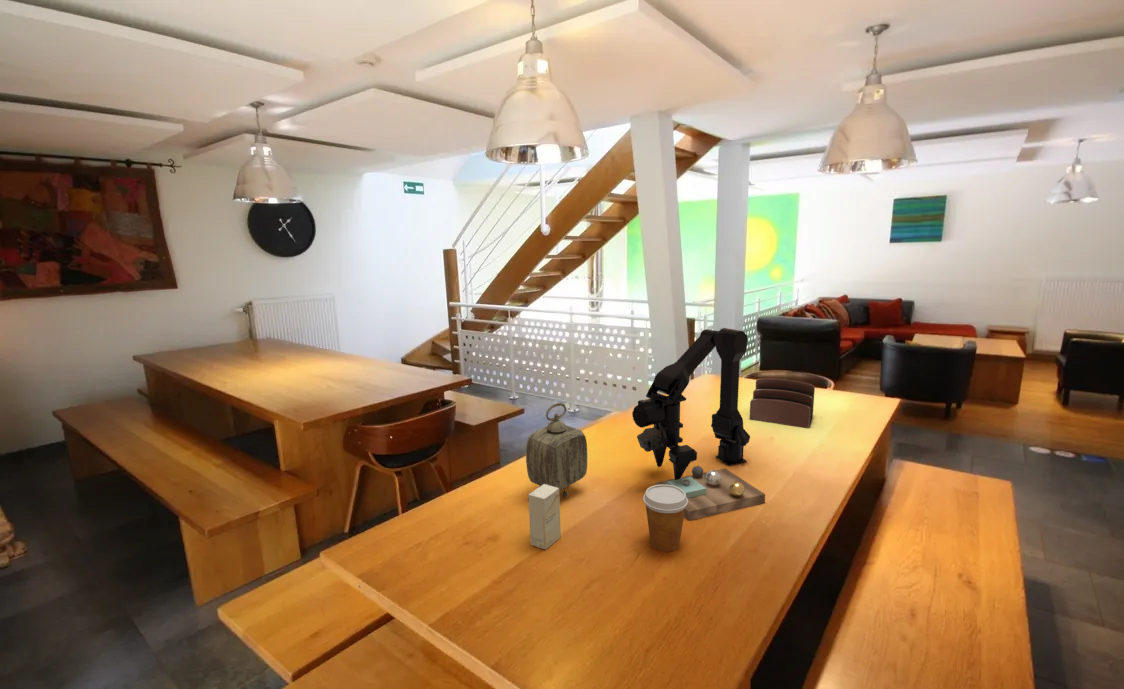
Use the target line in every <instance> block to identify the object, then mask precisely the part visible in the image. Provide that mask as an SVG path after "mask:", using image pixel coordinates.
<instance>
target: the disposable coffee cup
mask: <svg viewBox="0 0 1124 689" xmlns="http://www.w3.org/2000/svg"><path fill="white" fill-rule="evenodd" d="M642 499H643V500H642V501H643V502H644V505H645V511H646V518H647V519H646V520H647V526H648V533H649V541H650V545H651V547H652V548H654V549H655V550H657V551H660V552H664V553H668V552H674V551H676V550H678V549H679V548H680V544H681V539H682V538H681V537H682V531H683V526H684V518H685V517H684V513H685V508H686V506H687V504H688V498H687V497H686V494H685V492H684V491H683V490H682V489H680V488H678V487H676V486H672V485H664V484H661V485H655V484H654V485H652V486H649V487H648V488H646V490H645V492H644V494H643V498H642Z"/></svg>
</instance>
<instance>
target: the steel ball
mask: <svg viewBox="0 0 1124 689" xmlns="http://www.w3.org/2000/svg"><path fill="white" fill-rule="evenodd" d="M716 470H717V469H710V470H708V471H706V472H707V473H706V475H705V480H706V482H707V483H708V484H709V485H711V486H716V485H718V484H719V483H720V482H721V475H720V473H719V472H717V471H716Z"/></svg>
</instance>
